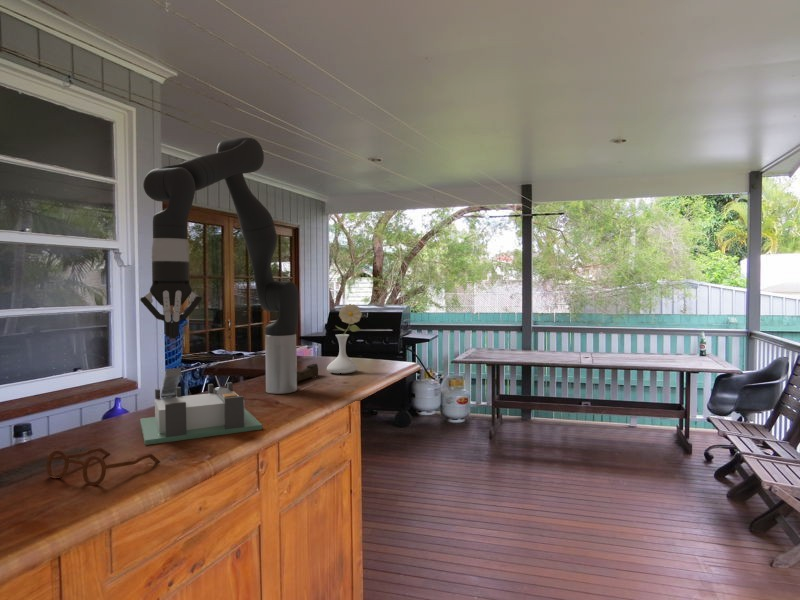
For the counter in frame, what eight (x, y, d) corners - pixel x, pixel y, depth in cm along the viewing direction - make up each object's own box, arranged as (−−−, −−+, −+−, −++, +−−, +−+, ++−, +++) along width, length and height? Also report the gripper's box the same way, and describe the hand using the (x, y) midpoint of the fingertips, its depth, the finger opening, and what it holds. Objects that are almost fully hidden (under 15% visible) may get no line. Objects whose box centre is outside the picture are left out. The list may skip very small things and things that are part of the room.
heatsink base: (140, 422, 127) (139, 389, 127) (243, 410, 139) (242, 379, 138) (145, 445, 110) (144, 406, 110) (262, 429, 122) (261, 394, 121)
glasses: (44, 479, 93) (43, 450, 92) (108, 456, 105) (108, 430, 105) (101, 489, 88) (101, 459, 88) (162, 463, 100) (161, 437, 100)
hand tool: (294, 386, 171) (294, 371, 171) (283, 385, 173) (283, 371, 173) (324, 376, 189) (324, 363, 189) (314, 375, 190) (314, 362, 190)
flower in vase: (322, 375, 190) (322, 304, 189) (332, 369, 201) (331, 303, 200) (358, 376, 188) (358, 304, 187) (366, 370, 199) (365, 303, 198)
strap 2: (213, 394, 133) (213, 386, 133) (226, 393, 135) (226, 385, 135) (226, 407, 119) (226, 398, 119) (240, 405, 120) (240, 397, 120)
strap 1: (161, 401, 127) (160, 393, 128) (175, 399, 129) (174, 391, 129) (166, 376, 114) (165, 367, 115) (181, 374, 116) (180, 366, 117)
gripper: (199, 261, 124) (200, 335, 125) (136, 260, 118) (137, 338, 119) (205, 260, 118) (206, 338, 118) (138, 258, 111) (139, 342, 112)
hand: (171, 338), depth 118 cm, fingers closed
